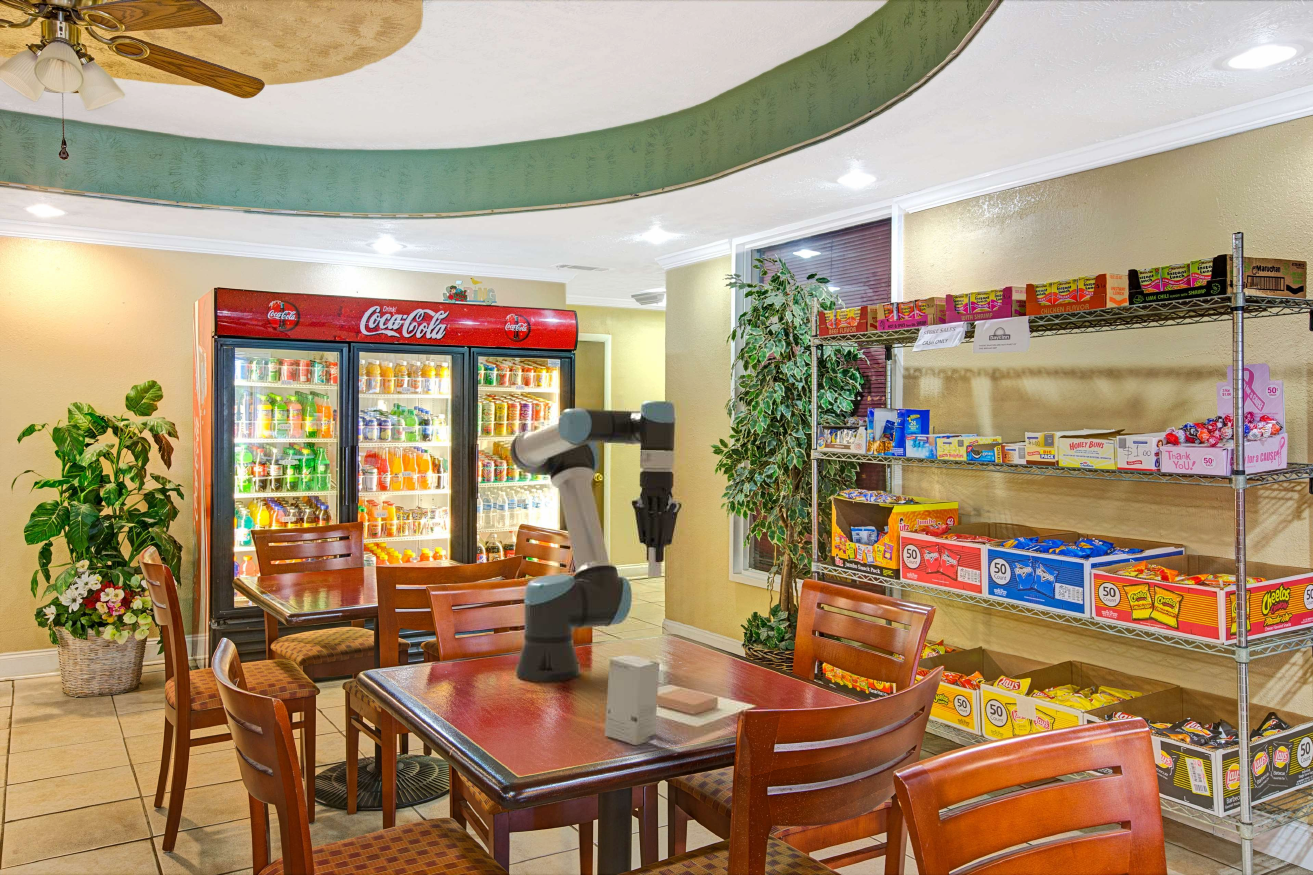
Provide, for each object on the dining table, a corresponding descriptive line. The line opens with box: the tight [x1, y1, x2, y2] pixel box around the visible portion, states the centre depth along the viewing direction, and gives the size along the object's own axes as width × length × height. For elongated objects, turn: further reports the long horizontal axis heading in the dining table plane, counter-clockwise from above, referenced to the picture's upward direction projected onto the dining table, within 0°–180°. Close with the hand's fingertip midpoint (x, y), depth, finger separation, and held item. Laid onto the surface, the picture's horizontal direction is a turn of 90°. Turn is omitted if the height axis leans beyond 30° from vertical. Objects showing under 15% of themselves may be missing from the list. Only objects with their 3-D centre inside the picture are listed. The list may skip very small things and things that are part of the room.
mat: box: [656, 684, 756, 728], centre depth 188 cm, size 24×20×1 cm
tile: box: [657, 687, 719, 715], centre depth 186 cm, size 2×8×10 cm
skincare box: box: [604, 654, 660, 746], centre depth 169 cm, size 8×6×15 cm
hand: (654, 576), depth 198 cm, fingers closed
